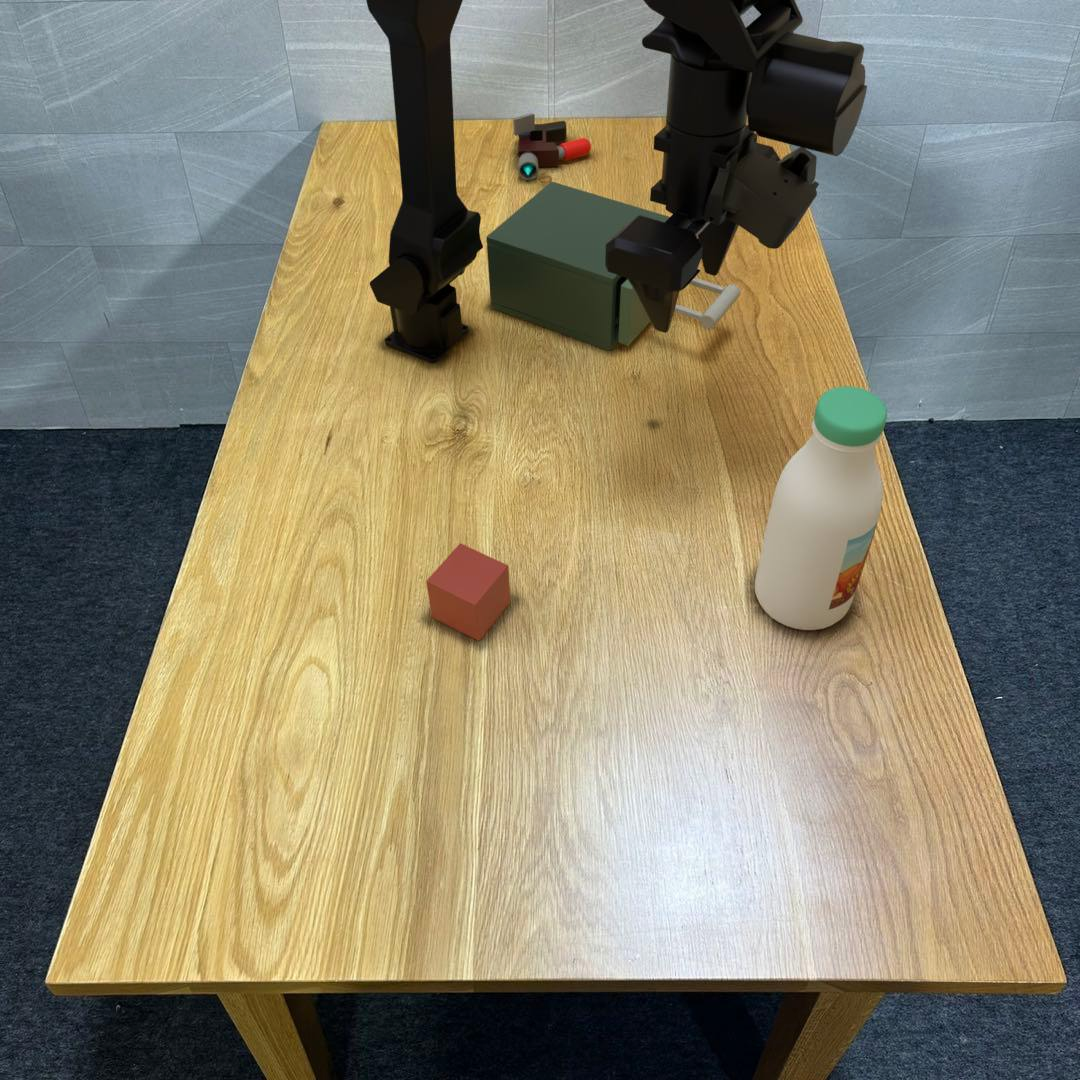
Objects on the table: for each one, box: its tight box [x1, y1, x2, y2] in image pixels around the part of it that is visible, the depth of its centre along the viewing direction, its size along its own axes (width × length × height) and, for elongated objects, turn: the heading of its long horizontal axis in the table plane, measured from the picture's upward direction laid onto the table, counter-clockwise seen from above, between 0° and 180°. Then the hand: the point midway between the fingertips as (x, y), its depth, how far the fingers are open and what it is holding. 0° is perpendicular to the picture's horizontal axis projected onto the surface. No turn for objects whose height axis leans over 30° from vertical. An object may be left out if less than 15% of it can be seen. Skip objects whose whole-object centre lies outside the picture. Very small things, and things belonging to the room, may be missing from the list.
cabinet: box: [485, 181, 671, 352], centre depth 108 cm, size 15×13×9 cm
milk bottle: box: [754, 385, 888, 631], centre depth 76 cm, size 8×8×20 cm
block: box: [425, 542, 512, 642], centre depth 81 cm, size 5×5×5 cm
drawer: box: [615, 277, 741, 347], centre depth 106 cm, size 21×11×7 cm, turn 58°
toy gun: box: [512, 112, 592, 181], centre depth 129 cm, size 10×12×5 cm
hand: (687, 301), depth 86 cm, fingers open, 9 cm apart
